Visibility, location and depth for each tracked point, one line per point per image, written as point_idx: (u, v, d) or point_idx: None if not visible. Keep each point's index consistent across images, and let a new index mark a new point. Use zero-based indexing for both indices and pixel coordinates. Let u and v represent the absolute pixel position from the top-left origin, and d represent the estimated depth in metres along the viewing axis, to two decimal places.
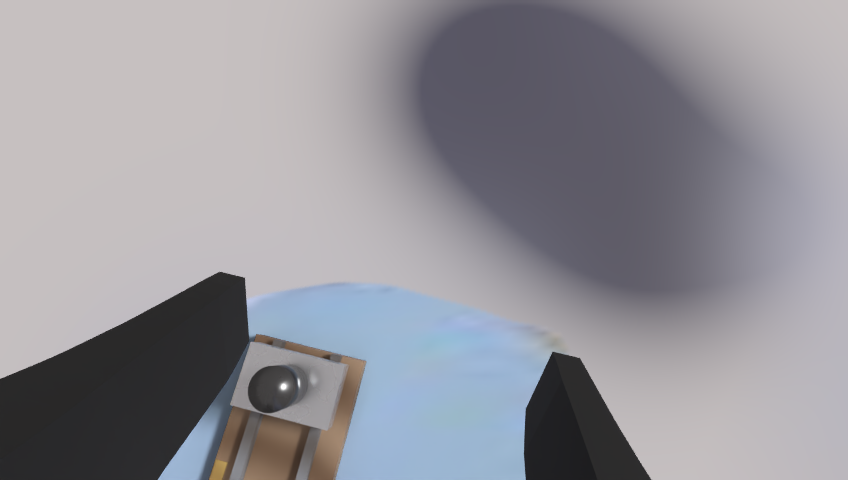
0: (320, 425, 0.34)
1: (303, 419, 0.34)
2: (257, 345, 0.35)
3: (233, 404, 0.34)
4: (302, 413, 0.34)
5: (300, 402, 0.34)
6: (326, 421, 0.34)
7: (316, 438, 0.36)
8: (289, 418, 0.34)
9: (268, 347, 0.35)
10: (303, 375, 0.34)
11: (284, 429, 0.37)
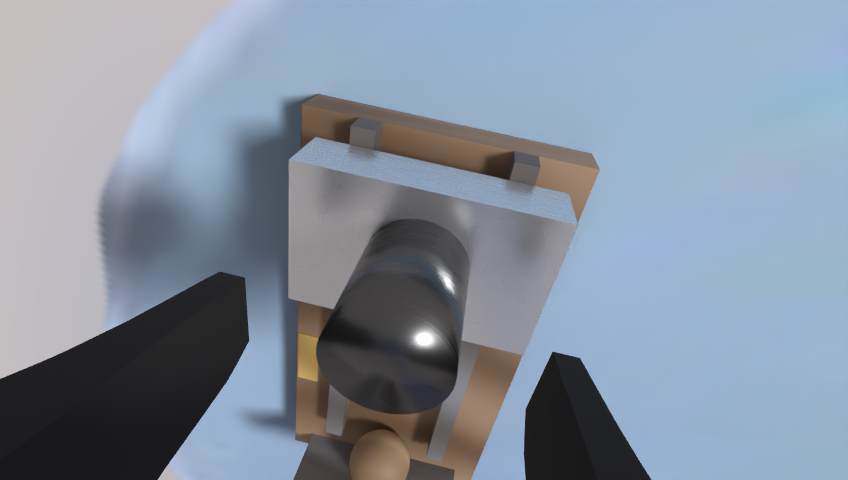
0: (507, 345, 0.14)
1: (465, 333, 0.14)
2: (310, 169, 0.12)
3: (296, 297, 0.14)
4: None
5: None
6: (522, 339, 0.14)
7: None
8: None
9: (343, 175, 0.12)
10: (460, 259, 0.12)
11: None
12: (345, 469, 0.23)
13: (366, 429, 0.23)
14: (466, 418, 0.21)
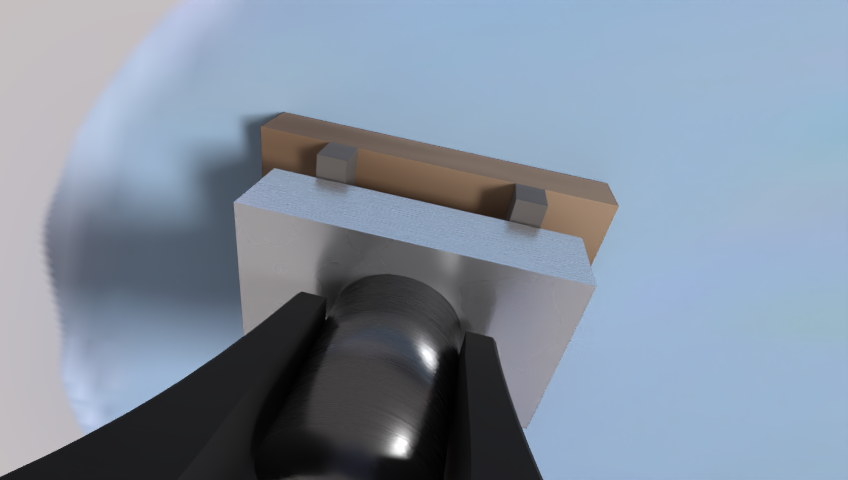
0: None
1: None
2: (261, 214, 0.10)
3: None
4: None
5: None
6: (525, 412, 0.11)
7: None
8: None
9: (302, 221, 0.09)
10: (448, 327, 0.09)
11: None
12: None
13: None
14: None
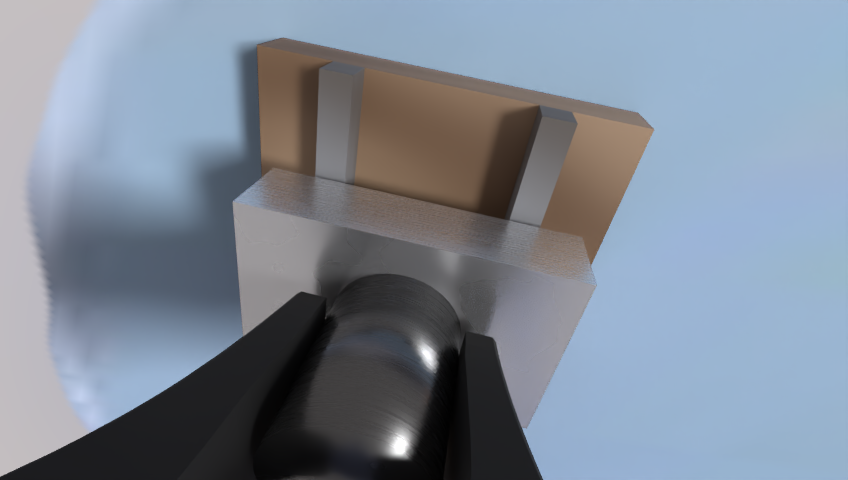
0: None
1: None
2: (260, 213, 0.10)
3: None
4: None
5: None
6: (525, 411, 0.11)
7: None
8: None
9: (301, 221, 0.09)
10: (448, 327, 0.09)
11: None
12: None
13: None
14: None
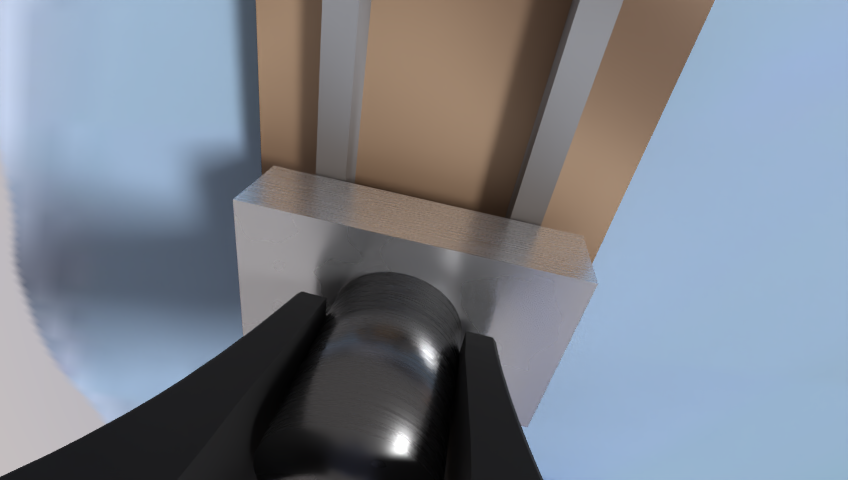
0: None
1: None
2: (261, 211, 0.10)
3: None
4: None
5: None
6: (526, 410, 0.11)
7: (548, 196, 0.11)
8: None
9: (301, 219, 0.09)
10: (448, 325, 0.09)
11: (433, 162, 0.12)
12: None
13: None
14: None
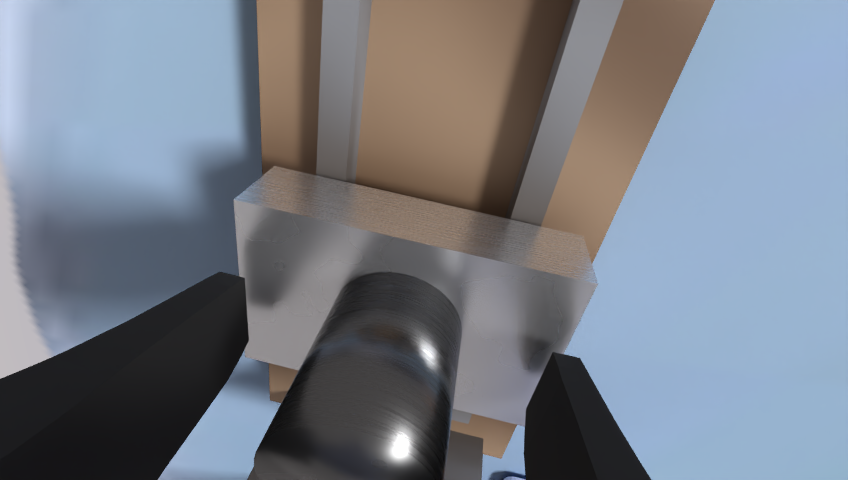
0: (508, 416, 0.12)
1: (457, 401, 0.12)
2: (261, 211, 0.10)
3: (254, 356, 0.12)
4: None
5: None
6: None
7: (548, 196, 0.11)
8: None
9: (302, 219, 0.09)
10: (449, 325, 0.09)
11: (433, 163, 0.12)
12: None
13: None
14: None
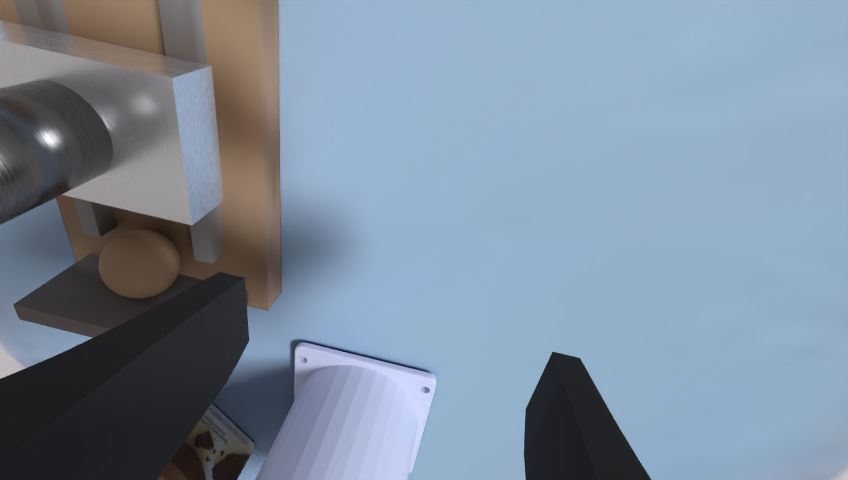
0: (175, 215, 0.15)
1: (135, 204, 0.15)
2: None
3: None
4: (128, 191, 0.15)
5: (112, 169, 0.14)
6: (184, 208, 0.15)
7: (184, 35, 0.14)
8: (108, 201, 0.15)
9: None
10: (71, 112, 0.13)
11: (120, 20, 0.15)
12: None
13: None
14: (234, 209, 0.19)
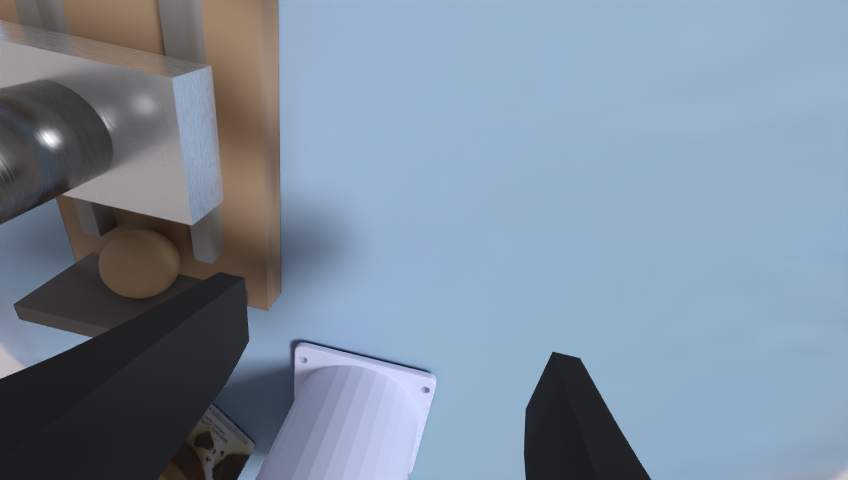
0: (175, 215, 0.15)
1: (135, 204, 0.15)
2: None
3: None
4: (128, 191, 0.15)
5: (112, 169, 0.14)
6: (184, 208, 0.15)
7: (184, 35, 0.14)
8: (108, 201, 0.15)
9: None
10: (71, 112, 0.13)
11: (120, 20, 0.15)
12: None
13: None
14: (234, 209, 0.19)
